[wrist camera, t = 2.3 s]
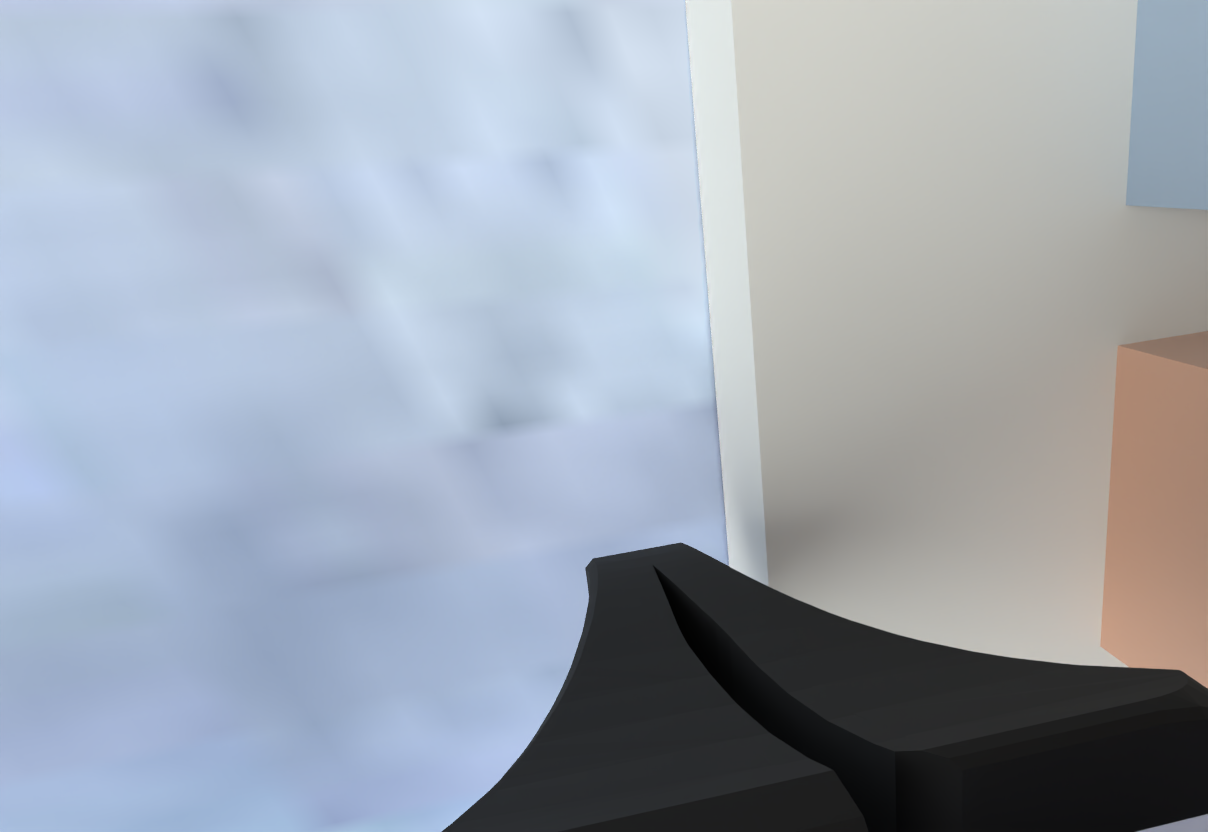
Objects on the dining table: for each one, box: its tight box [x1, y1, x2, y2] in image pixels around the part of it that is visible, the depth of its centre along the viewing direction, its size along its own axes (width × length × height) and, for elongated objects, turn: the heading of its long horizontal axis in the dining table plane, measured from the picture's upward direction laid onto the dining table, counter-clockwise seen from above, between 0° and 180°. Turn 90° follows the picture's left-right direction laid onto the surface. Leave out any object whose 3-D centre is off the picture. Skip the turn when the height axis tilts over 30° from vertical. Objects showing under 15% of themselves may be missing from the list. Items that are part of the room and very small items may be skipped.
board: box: [685, 0, 1208, 667], centre depth 14 cm, size 16×14×2 cm
